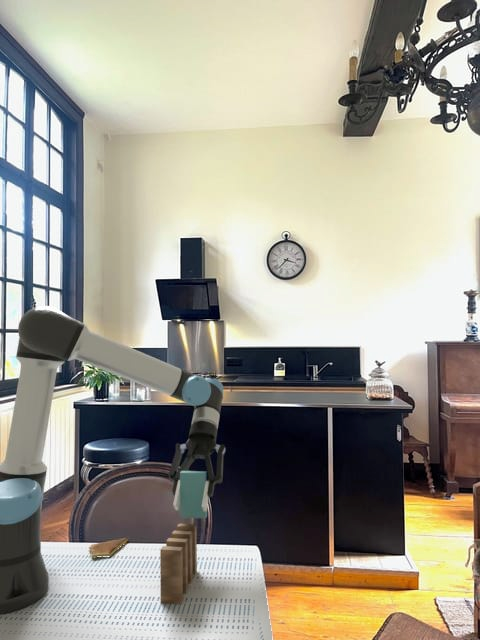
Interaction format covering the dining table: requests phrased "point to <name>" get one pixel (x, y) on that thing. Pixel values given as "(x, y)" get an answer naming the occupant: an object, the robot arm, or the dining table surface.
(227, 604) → the dining table surface
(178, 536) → the domino
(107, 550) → the shard
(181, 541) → the domino
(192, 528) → the domino
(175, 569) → the domino
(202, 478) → the domino
